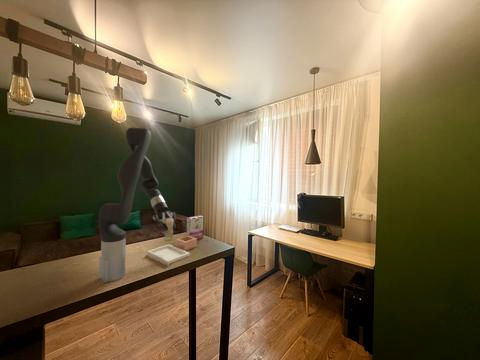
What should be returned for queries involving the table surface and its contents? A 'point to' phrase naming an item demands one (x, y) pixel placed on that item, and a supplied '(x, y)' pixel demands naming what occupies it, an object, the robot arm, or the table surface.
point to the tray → (167, 254)
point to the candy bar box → (195, 226)
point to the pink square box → (186, 242)
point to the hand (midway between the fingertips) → (170, 229)
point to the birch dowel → (169, 229)
